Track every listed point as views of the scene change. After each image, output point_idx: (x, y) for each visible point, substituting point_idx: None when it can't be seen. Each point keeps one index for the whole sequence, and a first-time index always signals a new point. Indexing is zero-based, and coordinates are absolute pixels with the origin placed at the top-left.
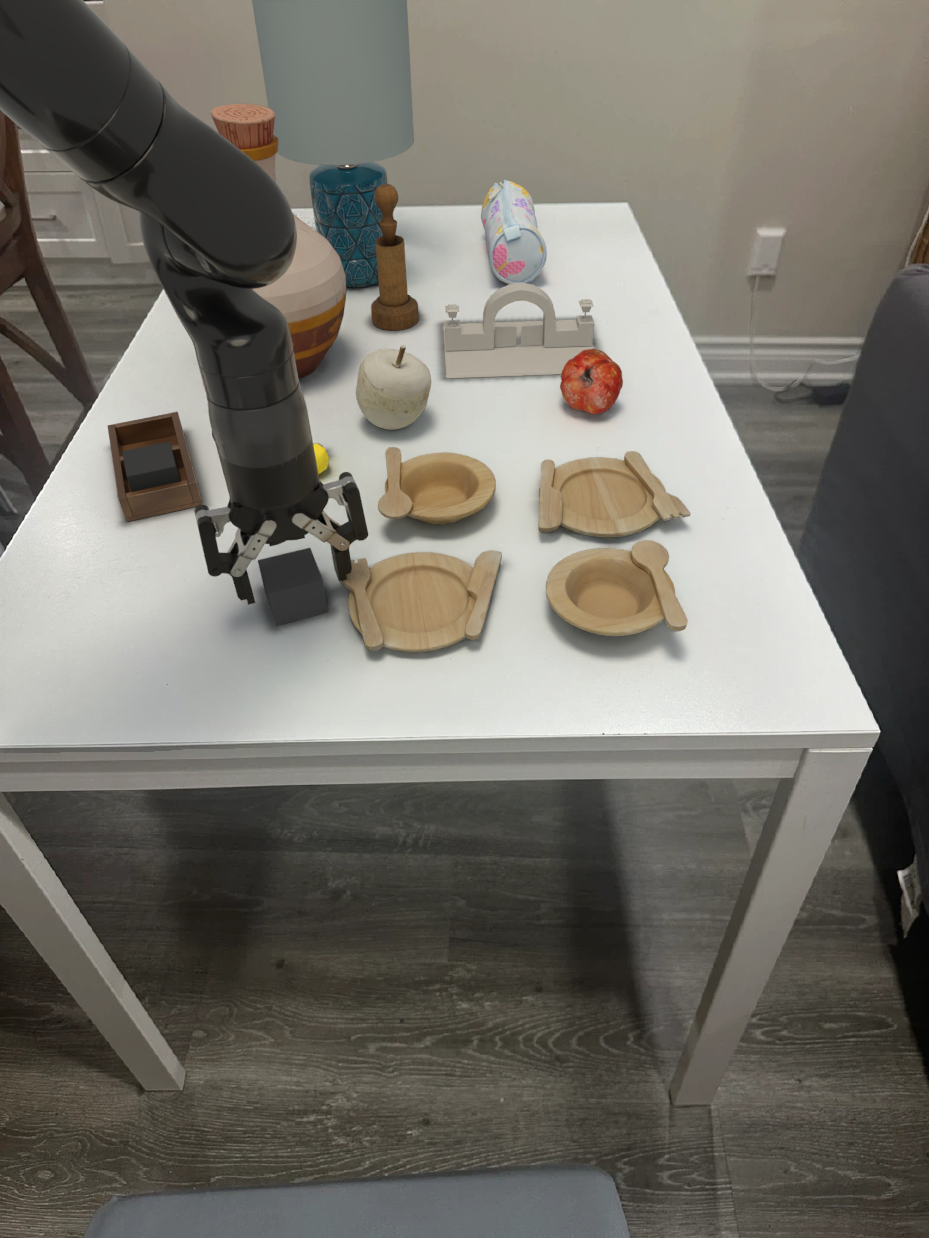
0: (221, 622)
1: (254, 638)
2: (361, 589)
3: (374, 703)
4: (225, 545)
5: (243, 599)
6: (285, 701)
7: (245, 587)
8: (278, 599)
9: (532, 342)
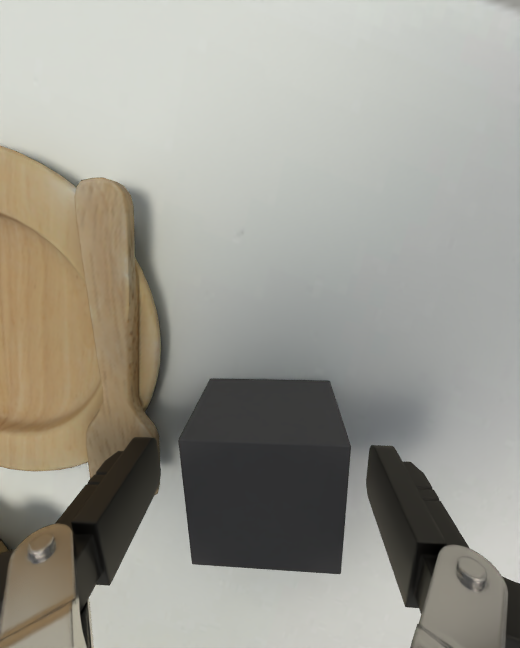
0: (437, 432)
1: (384, 362)
2: (111, 397)
3: (157, 26)
4: (363, 609)
5: (404, 463)
6: (376, 123)
7: (414, 494)
8: (319, 425)
9: None
